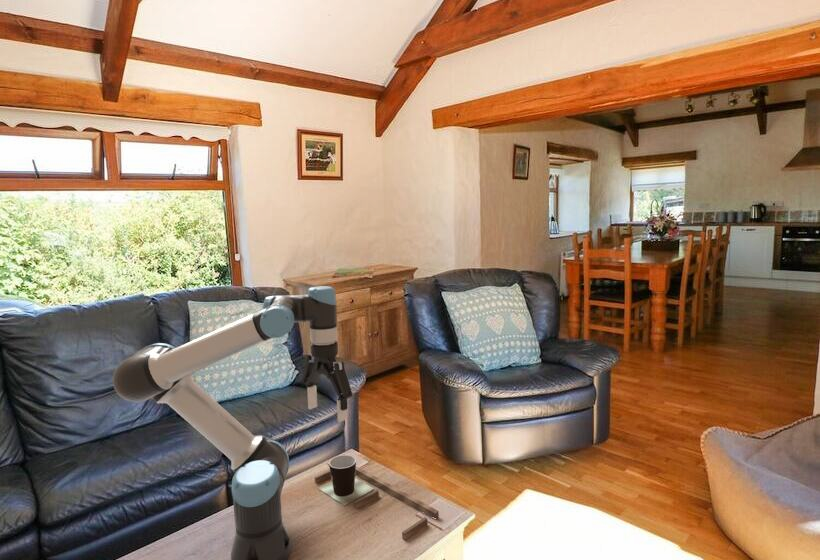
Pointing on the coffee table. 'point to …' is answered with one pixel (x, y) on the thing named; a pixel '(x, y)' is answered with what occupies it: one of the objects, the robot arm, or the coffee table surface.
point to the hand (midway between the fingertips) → (327, 414)
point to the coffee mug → (343, 474)
